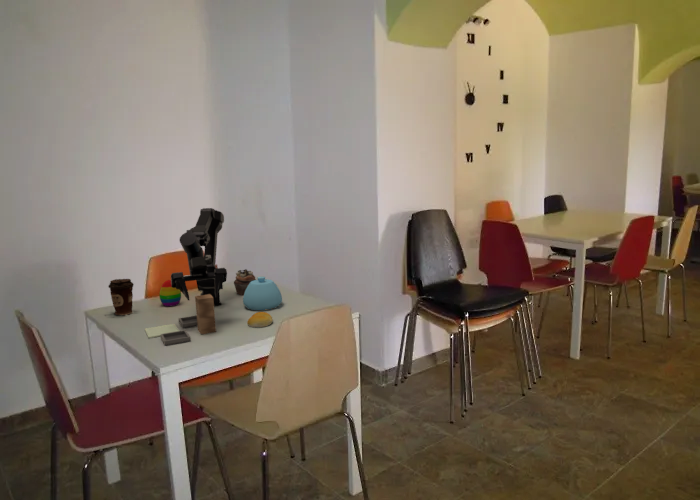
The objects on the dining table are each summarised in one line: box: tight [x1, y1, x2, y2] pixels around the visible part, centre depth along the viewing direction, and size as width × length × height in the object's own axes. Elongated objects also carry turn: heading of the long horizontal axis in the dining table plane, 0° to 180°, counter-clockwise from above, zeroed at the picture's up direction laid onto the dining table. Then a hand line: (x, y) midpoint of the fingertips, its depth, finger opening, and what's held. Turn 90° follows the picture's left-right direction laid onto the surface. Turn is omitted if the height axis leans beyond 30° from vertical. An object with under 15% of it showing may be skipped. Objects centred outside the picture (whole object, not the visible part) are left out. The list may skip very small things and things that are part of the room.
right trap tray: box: [177, 314, 198, 329], centre depth 199 cm, size 8×8×2 cm
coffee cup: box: [107, 278, 135, 316], centre depth 213 cm, size 9×8×13 cm
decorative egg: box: [158, 279, 182, 307], centre depth 224 cm, size 8×8×10 cm
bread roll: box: [246, 311, 274, 328], centre depth 196 cm, size 8×9×4 cm
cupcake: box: [233, 268, 257, 296], centre depth 238 cm, size 10×10×10 cm
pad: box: [144, 323, 180, 339], centre depth 191 cm, size 10×10×1 cm
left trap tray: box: [160, 329, 192, 347], centre depth 182 cm, size 8×8×2 cm
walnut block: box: [194, 294, 217, 335], centre depth 189 cm, size 5×5×12 cm
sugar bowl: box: [242, 276, 283, 311], centre depth 218 cm, size 15×15×12 cm
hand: (202, 298), depth 192 cm, fingers open, 9 cm apart
